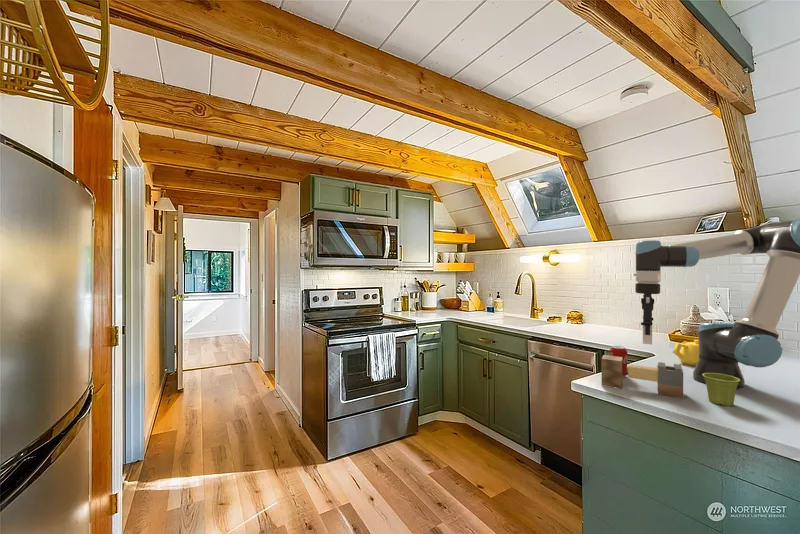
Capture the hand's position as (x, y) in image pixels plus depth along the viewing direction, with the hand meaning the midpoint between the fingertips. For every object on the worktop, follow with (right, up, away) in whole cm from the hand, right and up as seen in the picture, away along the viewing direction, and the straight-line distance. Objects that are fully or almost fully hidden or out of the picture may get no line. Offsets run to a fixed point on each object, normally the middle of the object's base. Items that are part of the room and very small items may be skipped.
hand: (647, 340), depth 131 cm
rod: (+1, -14, -1) cm, 14 cm away
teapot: (+48, -18, +37) cm, 64 cm away
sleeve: (+6, -18, -4) cm, 19 cm away
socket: (-9, -18, +6) cm, 21 cm away
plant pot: (+16, -18, -12) cm, 27 cm away
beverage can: (0, -18, +17) cm, 25 cm away
